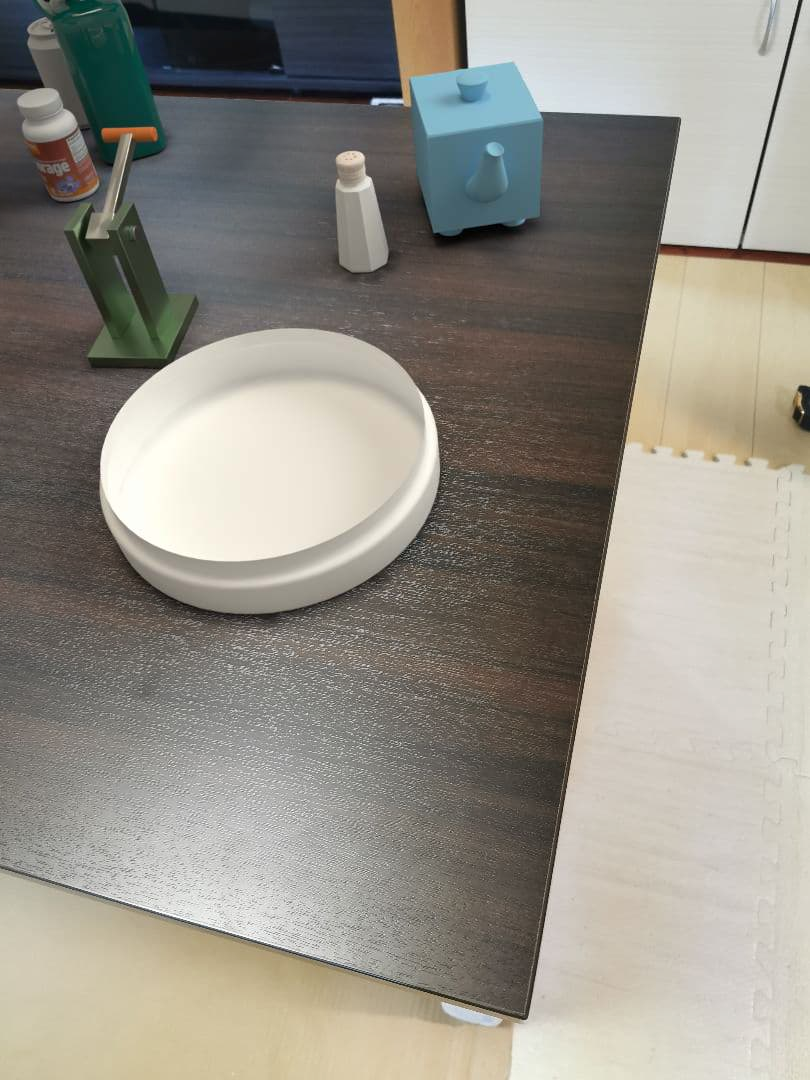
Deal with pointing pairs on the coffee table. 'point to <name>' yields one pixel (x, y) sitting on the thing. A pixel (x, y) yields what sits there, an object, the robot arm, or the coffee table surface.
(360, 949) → the coffee table surface
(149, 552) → the white round dish
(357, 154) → the salt shaker
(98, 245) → the lever
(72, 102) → the can
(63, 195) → the pill bottle
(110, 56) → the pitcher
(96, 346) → the bracket
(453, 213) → the teapot
